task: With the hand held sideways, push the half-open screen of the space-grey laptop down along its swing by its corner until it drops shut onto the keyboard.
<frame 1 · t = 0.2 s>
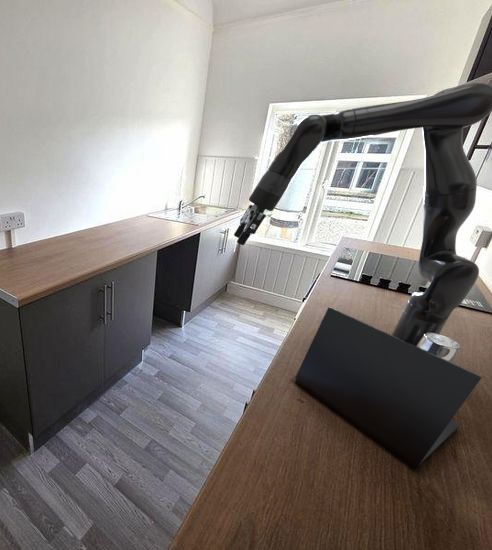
hand: (238, 240, 90), 31 cm above the worktop, tool tilted 20°, fingers open, 8 cm apart
beer glass: (414, 385, 81), on the worktop
laptop screen: (369, 377, 65), point 12 cm above the worktop, hinge at 80.0°
laptop: (369, 404, 74), on the worktop
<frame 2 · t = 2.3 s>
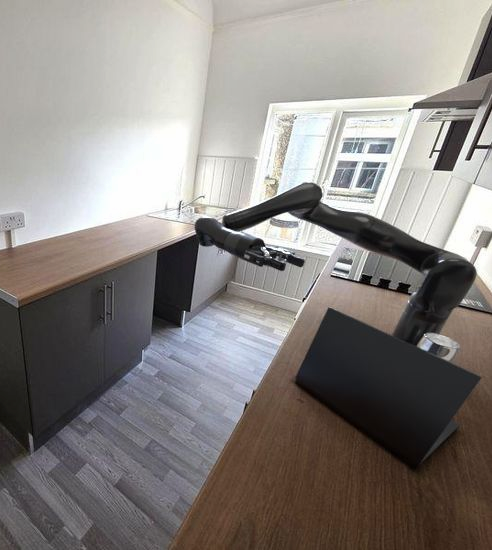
hand: (294, 265, 75), 30 cm above the worktop, tool horizontal, fingers open, 7 cm apart
nothing on the worktop moved.
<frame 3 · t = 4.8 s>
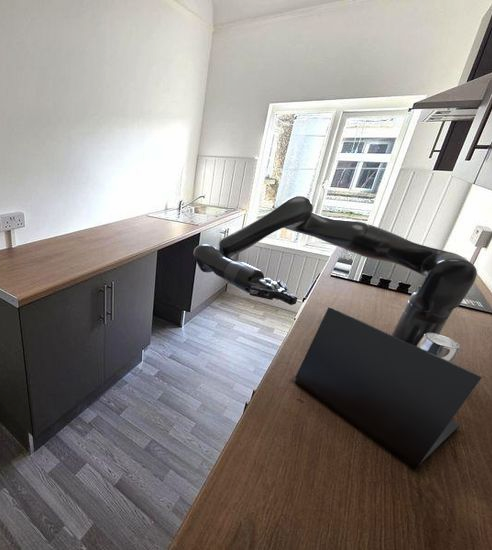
hand: (294, 301, 76), 21 cm above the worktop, tool horizontal, fingers closed
nothing on the worktop moved.
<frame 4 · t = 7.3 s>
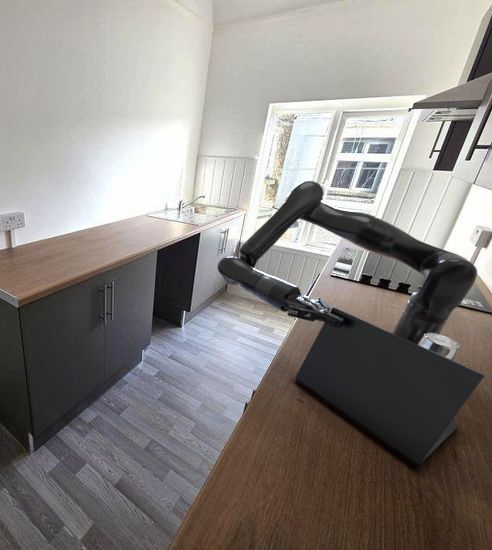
hand: (341, 324, 68), 21 cm above the worktop, tool horizontal, fingers closed
laptop screen: (371, 376, 65), point 12 cm above the worktop, hinge at 74.3°, touching hand
everything else where it was.
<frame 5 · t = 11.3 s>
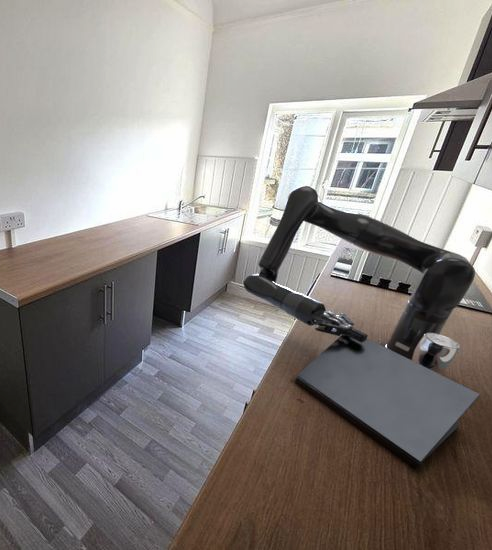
hand: (365, 339, 76), 13 cm above the worktop, tool horizontal, fingers closed
laptop screen: (377, 384, 70), point 7 cm above the worktop, hinge at 27.1°
everything else where it was.
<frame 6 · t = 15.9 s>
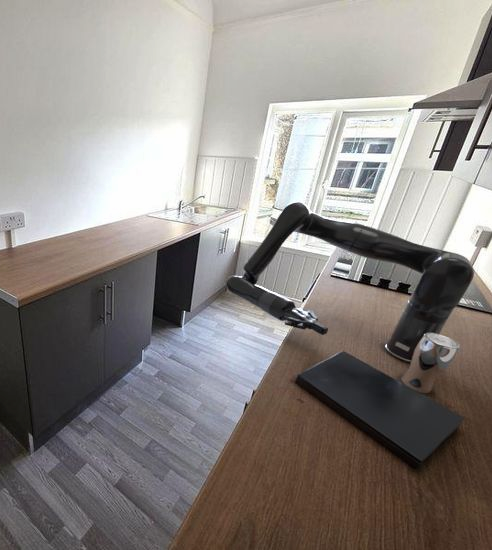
hand: (325, 331, 88), 8 cm above the worktop, tool horizontal, fingers closed
laptop screen: (373, 395, 72), point 3 cm above the worktop, hinge at 3.4°, touching laptop
everything else where it was.
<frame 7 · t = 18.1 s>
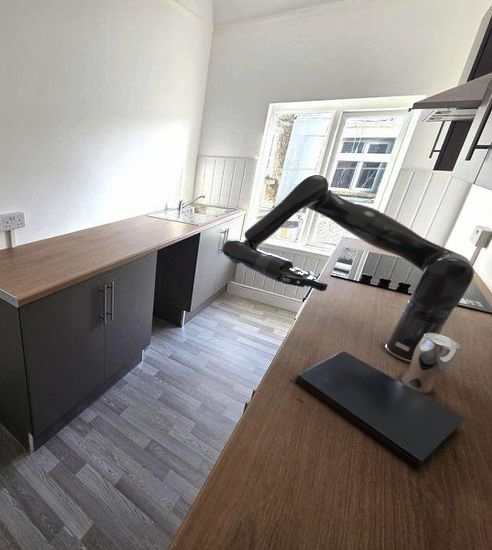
hand: (325, 287, 84), 22 cm above the worktop, tool horizontal, fingers closed
nothing on the worktop moved.
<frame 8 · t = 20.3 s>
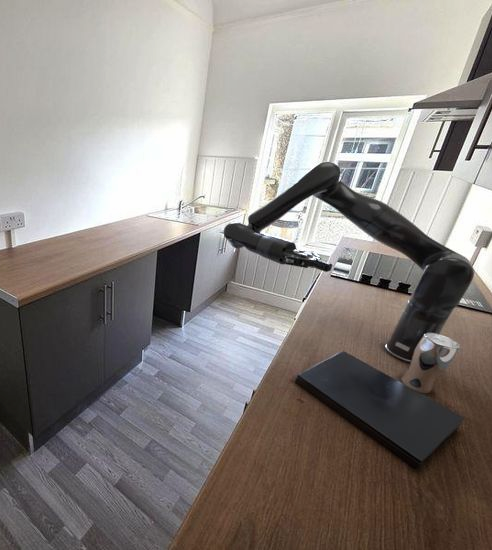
hand: (330, 268, 81), 28 cm above the worktop, tool horizontal, fingers closed
nothing on the worktop moved.
at the end: laptop screen at +3° (first picture: +80°); beer glass moved 0.2 cm from its start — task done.
